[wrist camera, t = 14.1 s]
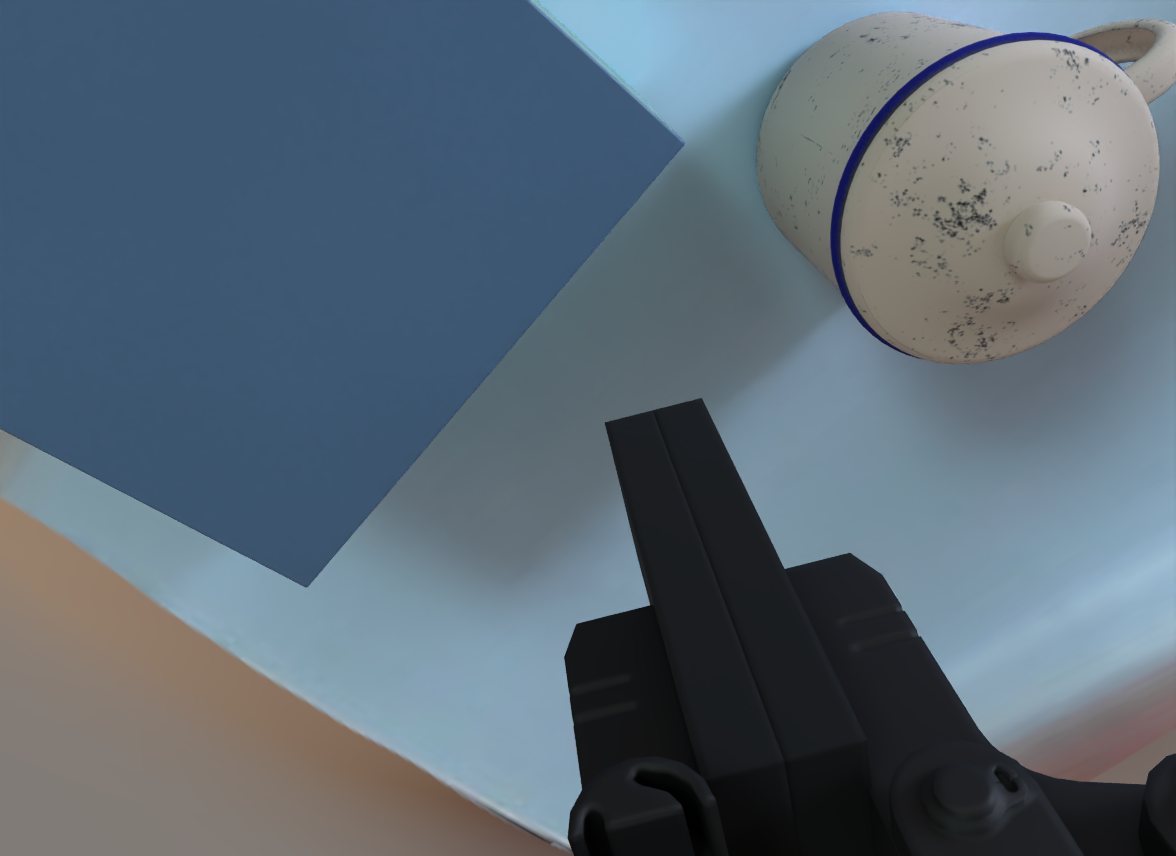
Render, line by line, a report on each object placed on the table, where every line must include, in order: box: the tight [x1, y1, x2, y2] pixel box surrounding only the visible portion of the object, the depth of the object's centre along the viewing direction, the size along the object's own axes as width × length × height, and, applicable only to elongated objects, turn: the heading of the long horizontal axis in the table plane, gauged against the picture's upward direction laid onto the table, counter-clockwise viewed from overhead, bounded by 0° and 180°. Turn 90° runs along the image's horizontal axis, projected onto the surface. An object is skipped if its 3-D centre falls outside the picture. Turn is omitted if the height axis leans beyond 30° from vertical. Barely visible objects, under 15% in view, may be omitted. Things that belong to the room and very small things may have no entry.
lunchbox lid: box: [0, 0, 685, 587], centre depth 23 cm, size 17×17×1 cm
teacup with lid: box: [756, 12, 1176, 364], centre depth 27 cm, size 12×9×12 cm
